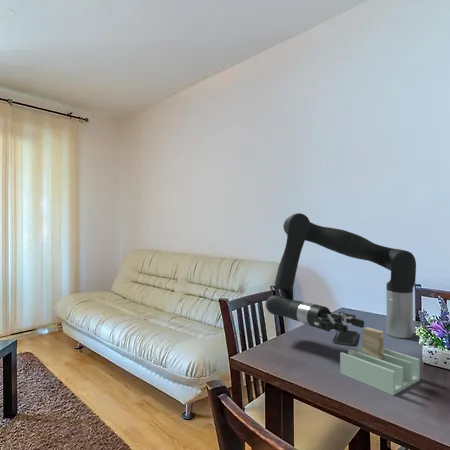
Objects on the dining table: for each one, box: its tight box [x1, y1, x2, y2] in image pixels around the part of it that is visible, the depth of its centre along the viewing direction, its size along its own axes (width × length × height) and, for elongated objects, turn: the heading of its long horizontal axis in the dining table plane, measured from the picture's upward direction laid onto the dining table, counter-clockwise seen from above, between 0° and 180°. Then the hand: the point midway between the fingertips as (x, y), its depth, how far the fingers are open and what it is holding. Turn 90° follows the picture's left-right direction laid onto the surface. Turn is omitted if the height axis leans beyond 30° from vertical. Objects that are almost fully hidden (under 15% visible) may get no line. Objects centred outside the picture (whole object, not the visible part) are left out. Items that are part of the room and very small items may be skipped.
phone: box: [332, 330, 359, 347], centre depth 132 cm, size 8×1×15 cm
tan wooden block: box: [362, 326, 384, 360], centre depth 101 cm, size 2×5×12 cm, turn 35°
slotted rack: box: [339, 345, 421, 396], centre depth 100 cm, size 14×16×6 cm
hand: (355, 326), depth 106 cm, fingers open, 8 cm apart
